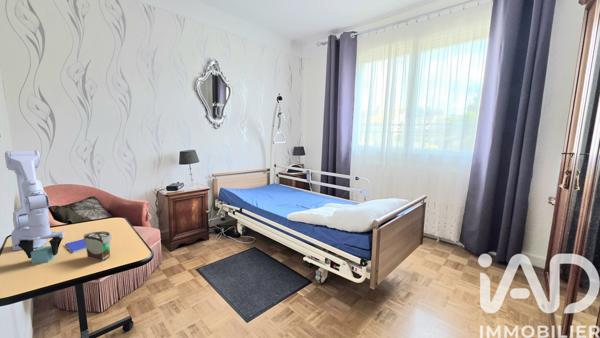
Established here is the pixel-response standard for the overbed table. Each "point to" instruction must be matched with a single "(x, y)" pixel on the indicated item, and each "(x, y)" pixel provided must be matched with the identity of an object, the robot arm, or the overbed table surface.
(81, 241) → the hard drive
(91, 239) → the food container
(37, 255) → the cube
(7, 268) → the overbed table surface
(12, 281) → the overbed table surface
